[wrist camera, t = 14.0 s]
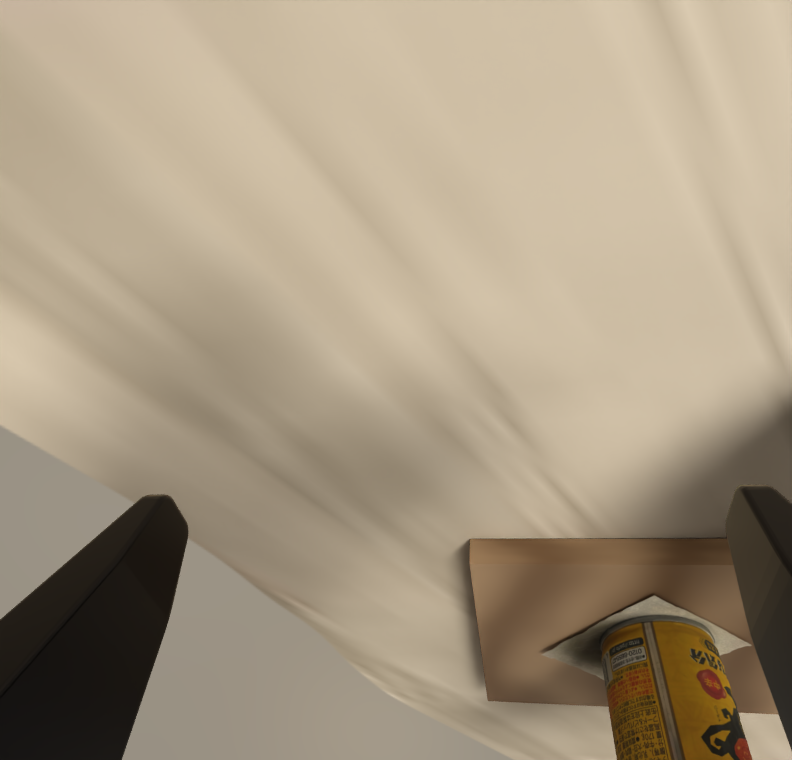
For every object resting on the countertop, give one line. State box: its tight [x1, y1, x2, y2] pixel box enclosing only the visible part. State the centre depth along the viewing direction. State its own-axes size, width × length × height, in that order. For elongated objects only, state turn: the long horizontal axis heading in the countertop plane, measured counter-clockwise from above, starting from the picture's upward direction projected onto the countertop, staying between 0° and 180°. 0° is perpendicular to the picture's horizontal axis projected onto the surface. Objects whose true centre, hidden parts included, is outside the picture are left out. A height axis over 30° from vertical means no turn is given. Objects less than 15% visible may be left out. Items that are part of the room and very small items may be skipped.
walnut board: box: [470, 539, 778, 714], centre depth 34 cm, size 18×16×2 cm
